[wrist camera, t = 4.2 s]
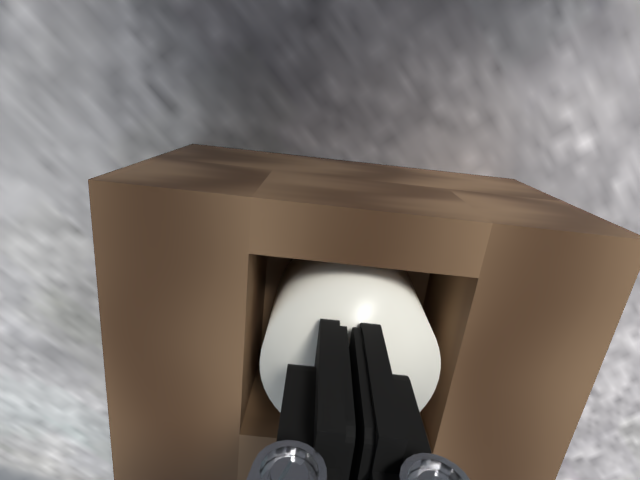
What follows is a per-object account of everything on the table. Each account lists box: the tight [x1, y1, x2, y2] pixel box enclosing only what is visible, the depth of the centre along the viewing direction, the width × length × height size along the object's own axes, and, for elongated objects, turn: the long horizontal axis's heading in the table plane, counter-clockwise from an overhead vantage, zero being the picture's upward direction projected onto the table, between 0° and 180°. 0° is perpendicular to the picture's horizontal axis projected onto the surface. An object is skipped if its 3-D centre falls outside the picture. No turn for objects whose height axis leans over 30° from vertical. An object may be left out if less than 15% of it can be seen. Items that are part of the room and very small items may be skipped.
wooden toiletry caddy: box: [88, 144, 640, 480], centre depth 17 cm, size 14×18×8 cm
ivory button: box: [260, 259, 441, 413], centre depth 13 cm, size 5×5×4 cm
